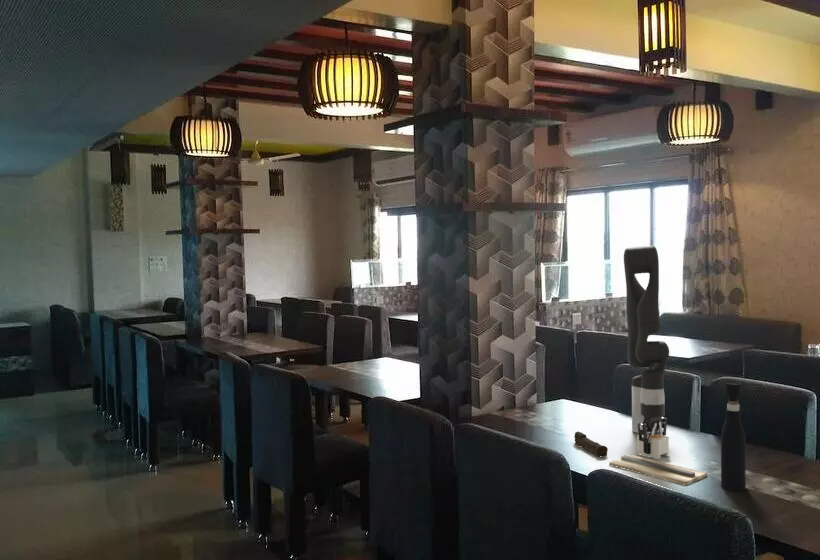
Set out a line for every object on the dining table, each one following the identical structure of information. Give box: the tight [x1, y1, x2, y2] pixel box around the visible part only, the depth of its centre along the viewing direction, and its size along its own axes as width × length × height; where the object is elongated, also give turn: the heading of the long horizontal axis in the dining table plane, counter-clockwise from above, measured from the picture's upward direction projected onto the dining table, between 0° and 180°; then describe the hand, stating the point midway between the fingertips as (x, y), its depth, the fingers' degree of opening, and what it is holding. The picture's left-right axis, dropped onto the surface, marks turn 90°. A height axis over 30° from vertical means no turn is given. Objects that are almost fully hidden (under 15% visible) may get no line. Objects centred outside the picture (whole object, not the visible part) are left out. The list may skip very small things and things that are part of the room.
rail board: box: [608, 454, 708, 486], centre depth 220 cm, size 12×26×2 cm, turn 40°
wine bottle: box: [720, 381, 747, 492], centre depth 203 cm, size 6×6×30 cm
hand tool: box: [573, 431, 608, 458], centre depth 244 cm, size 19×4×5 cm, turn 12°
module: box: [636, 433, 670, 460], centre depth 237 cm, size 6×8×6 cm
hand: (652, 451), depth 237 cm, fingers closed on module, 6 cm apart
